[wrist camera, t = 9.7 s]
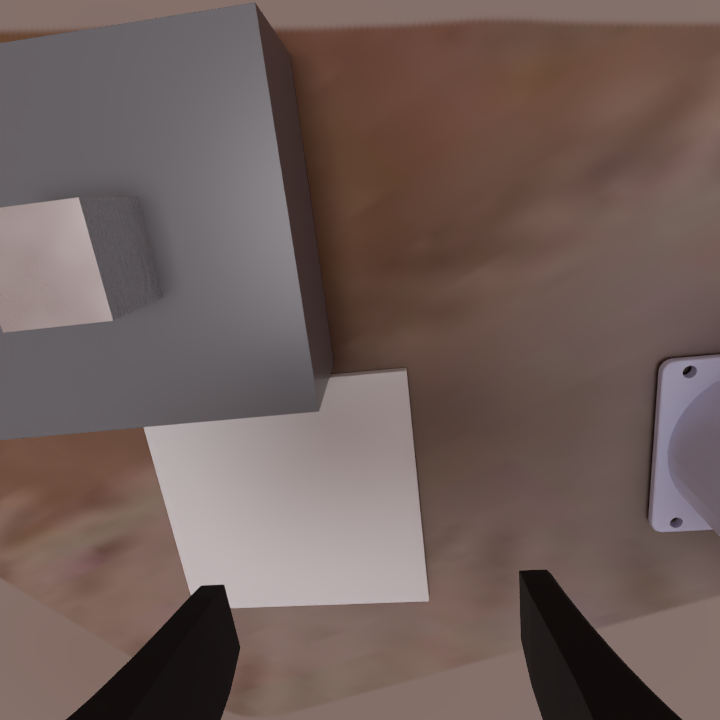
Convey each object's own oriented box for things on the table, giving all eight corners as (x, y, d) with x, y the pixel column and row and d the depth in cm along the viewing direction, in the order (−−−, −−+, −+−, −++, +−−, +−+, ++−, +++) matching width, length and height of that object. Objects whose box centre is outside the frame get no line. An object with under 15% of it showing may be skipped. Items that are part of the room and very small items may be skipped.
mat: (406, 367, 21) (406, 370, 21) (428, 594, 25) (429, 601, 24) (138, 390, 22) (134, 394, 22) (197, 603, 26) (194, 609, 26)
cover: (289, 54, 18) (218, -52, 10) (333, 362, 21) (305, 456, 14) (-15, 100, 19) (-291, 35, 11) (76, 388, 22) (-85, 488, 15)
